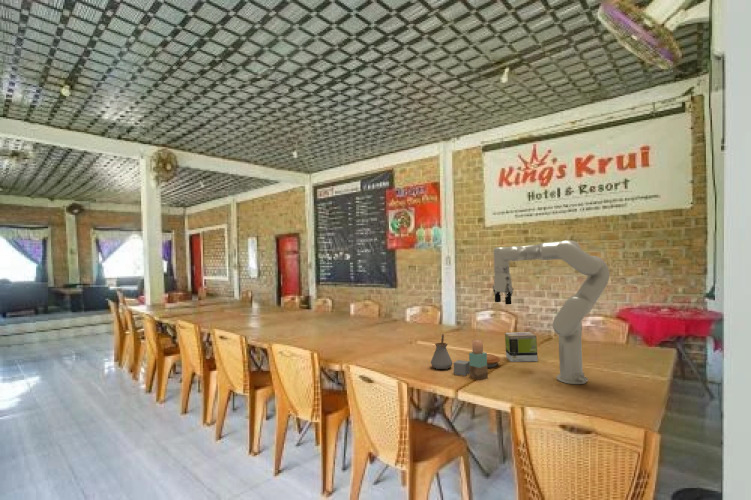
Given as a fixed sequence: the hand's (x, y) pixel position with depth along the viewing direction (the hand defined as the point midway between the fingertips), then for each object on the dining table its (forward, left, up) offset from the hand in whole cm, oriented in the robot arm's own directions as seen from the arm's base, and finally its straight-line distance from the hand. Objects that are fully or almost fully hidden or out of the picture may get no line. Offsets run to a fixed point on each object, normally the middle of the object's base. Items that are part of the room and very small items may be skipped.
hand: (503, 303), depth 198 cm
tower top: (-8, +20, -28) cm, 36 cm away
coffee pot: (+17, +28, -34) cm, 48 cm away
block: (0, +25, -34) cm, 43 cm away
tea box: (+12, -18, -35) cm, 41 cm away
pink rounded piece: (-8, +20, -22) cm, 31 cm away
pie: (+10, +6, -35) cm, 37 cm away
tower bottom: (-8, +20, -34) cm, 41 cm away
